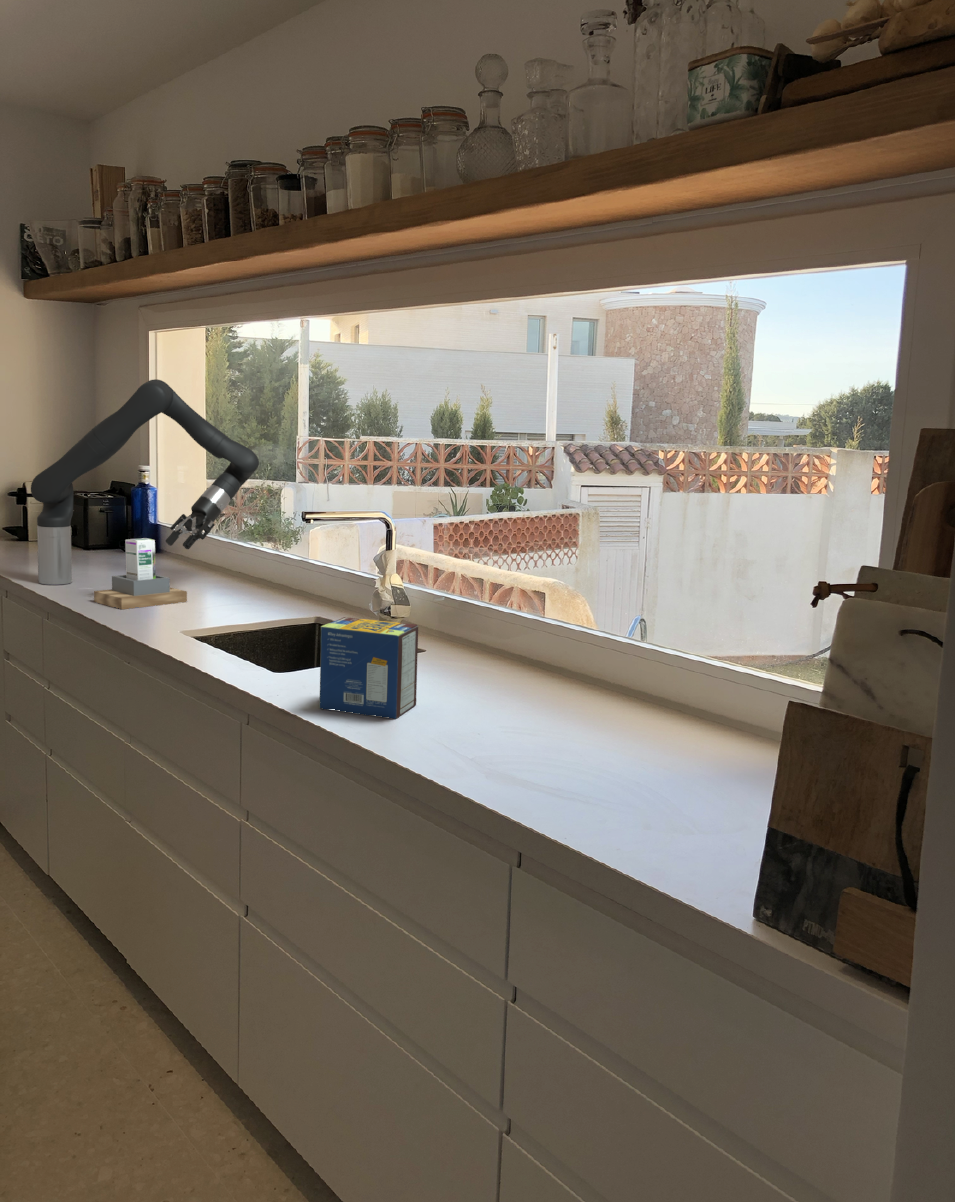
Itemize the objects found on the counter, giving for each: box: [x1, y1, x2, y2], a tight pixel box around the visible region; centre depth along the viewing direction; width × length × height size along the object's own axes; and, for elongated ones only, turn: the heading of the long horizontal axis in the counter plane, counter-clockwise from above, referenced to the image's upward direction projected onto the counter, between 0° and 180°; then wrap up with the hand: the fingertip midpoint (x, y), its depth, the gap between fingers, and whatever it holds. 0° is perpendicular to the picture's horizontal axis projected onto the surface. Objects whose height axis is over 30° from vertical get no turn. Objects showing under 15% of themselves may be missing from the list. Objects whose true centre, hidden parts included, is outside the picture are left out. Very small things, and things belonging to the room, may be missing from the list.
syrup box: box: [124, 537, 157, 580], centre depth 277 cm, size 6×6×14 cm
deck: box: [93, 587, 188, 610], centre depth 278 cm, size 14×20×3 cm
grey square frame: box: [111, 574, 171, 596], centre depth 277 cm, size 11×11×4 cm
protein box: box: [318, 616, 419, 720], centre depth 184 cm, size 10×15×16 cm
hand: (176, 545), depth 285 cm, fingers open, 8 cm apart
